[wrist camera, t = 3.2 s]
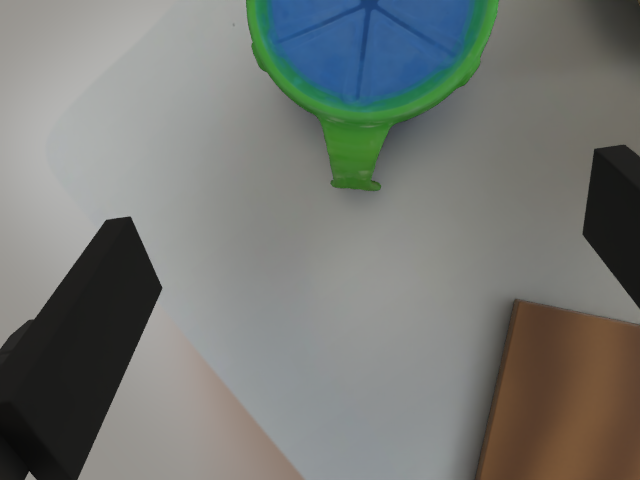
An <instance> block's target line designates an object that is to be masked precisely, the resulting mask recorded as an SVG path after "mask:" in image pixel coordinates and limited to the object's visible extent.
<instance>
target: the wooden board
mask: <svg viewBox="0 0 640 480" xmlns="http://www.w3.org/2000/svg"><path fill="white" fill-rule="evenodd" d="M475 480H640V325H638V324H633V323H629V322H624V321H619V320H614V319H610V318H605V317H600V316H595V315H591V314H586V313H581V312H576V311H571V310H567V309H562V308H557V307H552V306H548V305H543V304H538V303H533V302H529V301H524V300H519V299H515V301H514V306H513V310H512V315H511V319H510V324H509V328H508V333H507V337H506V342H505V346H504V351H503V355H502V360H501V364H500V369H499V373H498V378H497V382H496V387H495V391H494V396H493V400H492V405H491V410H490V414H489V419H488V423H487V428H486V432H485V437H484V441H483V446H482V450H481V455H480V459H479V464H478V468H477V473H476V477H475Z"/></svg>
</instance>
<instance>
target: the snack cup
mask: <svg viewBox="0 0 640 480" xmlns="http://www.w3.org/2000/svg"><path fill="white" fill-rule="evenodd" d="M498 3H499V0H246V8H247V19H248V26H249V30H250V34H251V38H252V41H253V43H252V45H251V47H252V50H253V54H254V56H255V58H256V60H257V63H258V65H259V67H260V68H261V69H262V70H264V71H266V72H267V73H268V74H269V76H270V77H271V79H272V80H273V81H274V82H275V84H276V85H277V86H278V87H279V88H280V89H281V90H282V92H284V93H285V94H286V95H287V96H288V97H289V98H290V99H291V100H292V101H294V102H295V103H296V104H297V105H299V106H300V107H302V108H303V109H305V110H306V111H308V112H310V113H312V114H314V115H315V116H316V117H317V118H318V119H319V121H320V123H321V126H322V128H323V132H324V138H325V141H326V145H327V152H328V154H329V159H330V165H331V170H332V174H333V180H332V181H331V185H332V186H333V187H336V188H350V189H361V190H366V191H378V190H380V188H381V185H380V183H378V182H375V181H372V180H371V178H372V174H373V172H374V169H375V164H376V161H377V158H378V155H379V152H380V150H381V148H382V145H383V142H384V140H385V138H386V136H387V134H388V131H389V129H390V128H391V127H392V126H393V125H394V124H396V123H399V122H402V121H406V120H408V119H411V118H413V117H415V116H418V115H420V114H422V113H424V112H425V111H428V110H429V109H431V108H433V107H434V106H436V105H437V104H439V103H440V102H441V101H443V100H444V99H445V98H446V97H448V96H449V95H450V94H451V93H452V92H453V91H454V90H456V89H457V88H459V87H461V86H464V85H465V84H466V83H467V82H468V81H469V79H470V78H471V77H472V76H473V74H474V73H475V71H476V70H477V68H478V67H479V65H480V62H481V61H480V57H481V54H482V52H483V50H484V47H485V45H486V43H487V41H488V39H489V36H490V34H491V30H492V27H493V25H494V21H495V19H496V16H497V12H498V10H497V9H498Z"/></svg>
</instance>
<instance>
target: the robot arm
mask: <svg viewBox="0 0 640 480" xmlns="http://www.w3.org/2000/svg"><path fill="white" fill-rule="evenodd" d="M582 235H583V236H584V237H585V238H586V240H587V241H588V242H589V244H590V245H591V246H592V248H593V249H594V250H595V251H596V253H597V254H598V255H599V257H600V258H601V259H602V260H603V262H604V263H605V264H606V266H607V267H608V268H609V270H610V271H611V272H612V273H613V275H614V276H615V277H616V279H617V280H618V281H619V282H620V284H621V285H622V286H623V288H624V289H625V290H626V292H627V293H628V294H629V295H630V297H631V298H632V299H633V301H634V302H635V303H636V305H637V306H638V307H639V308H640V157H639V156H638V155H637V154H636V153H634V152H633V151H632V150H631V149H629V148H628V147H627V146H626V145H618V146H611V147H604V148H597V149H594V155H593V162H592V170H591V177H590V184H589V191H588V198H587V205H586V213H585V220H584V227H583V234H582ZM161 290H162V286H161V284H160V281H159V279H158V277H157V275H156V272H155V270H154V268H153V266H152V263H151V261H150V259H149V257H148V254H147V252H146V250H145V248H144V245H143V243H142V241H141V239H140V236H139V234H138V232H137V230H136V227H135V225H134V223H133V221H132V218H131V216H130V217H123V218H116V219H109V220H106V221H105V222H104V224H103V225H102V226H101V228H100V229H99V231H98V232H97V234H96V235H95V236H94V238H93V239H92V240H91V242H90V243H89V245H88V246H87V247H86V249H85V250H84V252H83V253H82V254H81V256H80V257H79V259H78V260H77V261H76V263H75V264H74V265H73V267H72V268H71V269H70V271H69V272H68V274H67V275H66V277H65V278H64V279H63V281H62V282H61V283H60V285H59V286H58V287H57V289H56V290H55V292H54V293H53V295H52V296H51V297H50V299H49V300H48V301H47V303H46V304H45V306H44V307H43V308H42V310H41V311H40V313H39V314H38V315H37V317H36V318H35V319H34V320H28V321H27V322H26V323H25V324H24V325H22V326H21V327H20V328H19V329H18V330H16V331H15V332H14V333H13V334H12V335H11V336H10V337H9V338H8V339H7V341H6V342H5V344H4V345H3V346H2V348H1V349H0V480H25V478H26V476H27V474H28V472H29V471H30V472H31V474H32V475H33V476H34V477H35V478H36V479H37V480H77V479H78V477H79V475H80V472H81V470H82V468H83V466H84V464H85V461H86V459H87V457H88V454H89V452H90V450H91V448H92V445H93V443H94V441H95V439H96V437H97V434H98V432H99V430H100V427H101V425H102V423H103V421H104V418H105V416H106V414H107V412H108V409H109V407H110V405H111V403H112V401H113V398H114V396H115V394H116V391H117V389H118V387H119V385H120V383H121V380H122V378H123V376H124V373H125V371H126V369H127V367H128V365H129V362H130V360H131V358H132V355H133V353H134V351H135V348H136V347H137V344H138V342H139V340H140V337H141V335H142V333H143V331H144V329H145V326H146V324H147V322H148V319H149V317H150V315H151V313H152V310H153V308H154V306H155V304H156V301H157V299H158V297H159V295H160V292H161Z"/></svg>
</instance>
